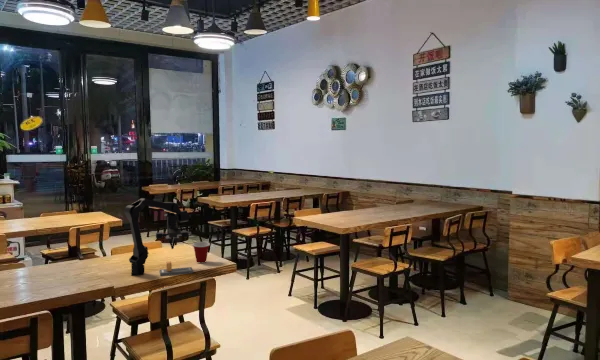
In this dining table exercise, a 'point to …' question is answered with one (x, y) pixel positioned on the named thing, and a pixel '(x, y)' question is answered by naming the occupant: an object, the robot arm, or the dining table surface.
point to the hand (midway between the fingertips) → (172, 248)
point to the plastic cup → (201, 251)
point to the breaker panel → (176, 271)
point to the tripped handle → (168, 266)
